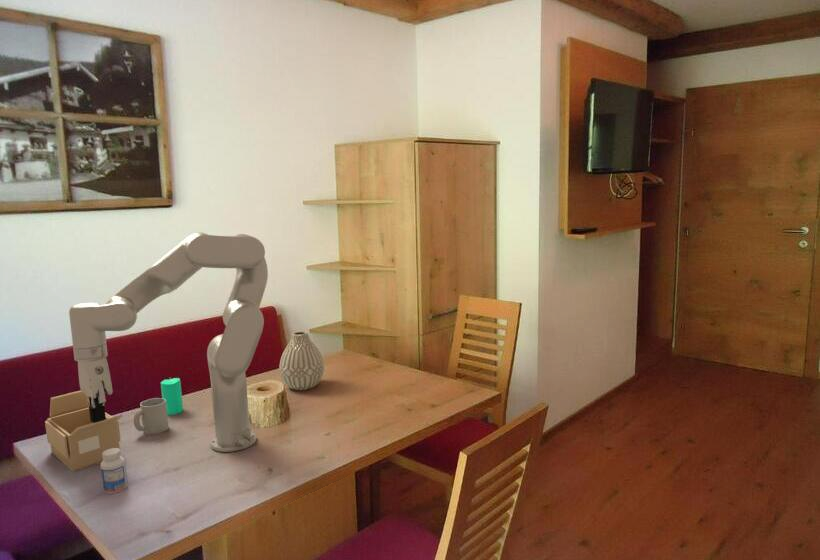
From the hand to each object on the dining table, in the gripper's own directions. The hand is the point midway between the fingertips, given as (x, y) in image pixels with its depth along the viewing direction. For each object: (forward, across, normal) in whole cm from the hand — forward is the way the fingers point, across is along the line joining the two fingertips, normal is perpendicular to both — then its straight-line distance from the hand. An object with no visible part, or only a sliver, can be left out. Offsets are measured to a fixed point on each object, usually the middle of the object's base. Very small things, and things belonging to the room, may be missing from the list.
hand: (98, 420), depth 157 cm
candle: (+14, +27, -32) cm, 44 cm away
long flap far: (+4, +24, 0) cm, 24 cm away
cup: (+14, +16, -20) cm, 29 cm away
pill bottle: (+14, -12, +2) cm, 19 cm away
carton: (+14, +15, 0) cm, 20 cm away
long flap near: (+4, +6, 0) cm, 7 cm away
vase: (+13, +13, -74) cm, 76 cm away
